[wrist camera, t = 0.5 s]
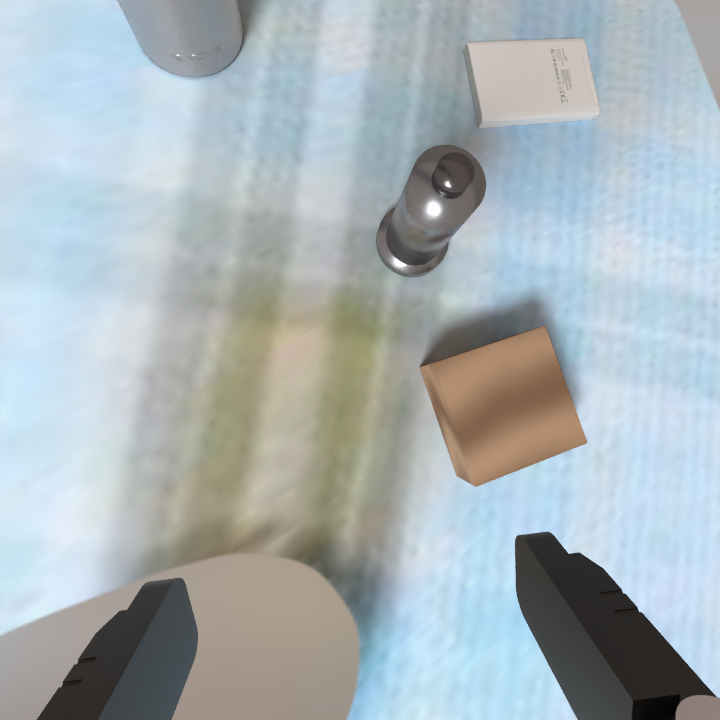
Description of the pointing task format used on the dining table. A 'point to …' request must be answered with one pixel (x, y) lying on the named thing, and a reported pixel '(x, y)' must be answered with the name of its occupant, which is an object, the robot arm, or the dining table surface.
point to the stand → (503, 406)
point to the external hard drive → (530, 82)
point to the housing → (430, 210)
